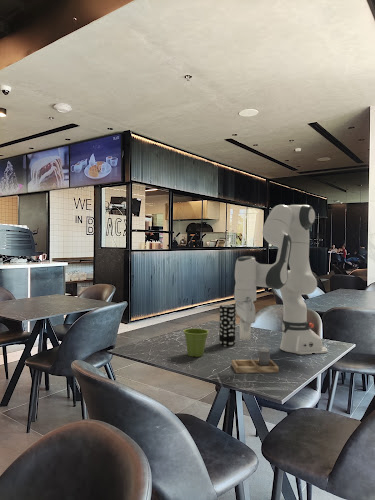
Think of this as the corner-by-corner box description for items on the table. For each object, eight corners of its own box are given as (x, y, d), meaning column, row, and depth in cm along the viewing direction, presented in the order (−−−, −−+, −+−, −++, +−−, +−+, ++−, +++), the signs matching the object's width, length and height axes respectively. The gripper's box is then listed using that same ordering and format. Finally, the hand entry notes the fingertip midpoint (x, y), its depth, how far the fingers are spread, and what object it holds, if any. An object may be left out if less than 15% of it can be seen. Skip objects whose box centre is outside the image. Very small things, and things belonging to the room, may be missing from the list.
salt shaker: (249, 337, 157) (249, 317, 157) (251, 339, 152) (251, 320, 152) (238, 337, 156) (238, 317, 156) (240, 339, 152) (240, 320, 152)
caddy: (271, 366, 160) (271, 359, 160) (278, 374, 150) (278, 367, 150) (231, 367, 159) (231, 359, 159) (236, 375, 149) (236, 367, 149)
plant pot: (200, 360, 168) (200, 335, 168) (178, 356, 174) (178, 331, 174) (213, 354, 178) (213, 330, 178) (191, 350, 184) (191, 327, 184)
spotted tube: (217, 345, 193) (217, 306, 193) (221, 341, 201) (222, 304, 200) (232, 347, 190) (233, 307, 190) (237, 343, 198) (237, 305, 197)
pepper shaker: (267, 366, 157) (268, 347, 157) (270, 369, 153) (271, 350, 153) (257, 366, 157) (257, 347, 157) (260, 370, 153) (260, 350, 152)
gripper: (259, 299, 144) (259, 335, 144) (247, 292, 164) (247, 324, 165) (243, 299, 144) (243, 335, 144) (233, 292, 164) (232, 324, 164)
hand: (245, 329), depth 154 cm, fingers closed on salt shaker, 4 cm apart
